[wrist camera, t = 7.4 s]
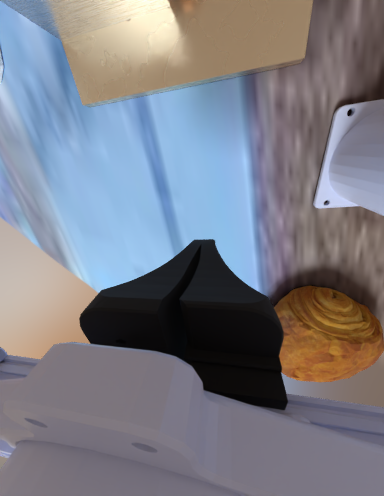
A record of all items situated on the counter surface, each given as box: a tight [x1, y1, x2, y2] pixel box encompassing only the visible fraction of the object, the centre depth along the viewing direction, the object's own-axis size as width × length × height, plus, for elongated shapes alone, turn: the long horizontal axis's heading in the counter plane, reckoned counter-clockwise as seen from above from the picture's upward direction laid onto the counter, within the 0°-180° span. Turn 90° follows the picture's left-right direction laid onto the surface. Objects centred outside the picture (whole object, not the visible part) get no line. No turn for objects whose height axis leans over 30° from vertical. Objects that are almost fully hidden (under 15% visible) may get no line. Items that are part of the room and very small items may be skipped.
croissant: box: [274, 286, 384, 382], centre depth 23 cm, size 14×16×8 cm
